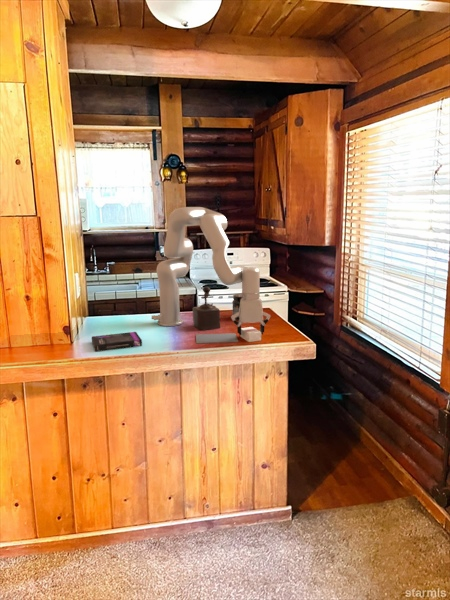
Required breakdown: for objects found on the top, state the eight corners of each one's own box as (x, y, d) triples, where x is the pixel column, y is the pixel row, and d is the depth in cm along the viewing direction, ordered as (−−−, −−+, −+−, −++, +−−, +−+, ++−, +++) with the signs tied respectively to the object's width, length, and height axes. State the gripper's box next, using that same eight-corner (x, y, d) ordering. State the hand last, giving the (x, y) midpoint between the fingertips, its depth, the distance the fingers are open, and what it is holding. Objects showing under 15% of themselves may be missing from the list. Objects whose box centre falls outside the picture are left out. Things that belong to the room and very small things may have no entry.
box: (136, 338, 200) (91, 343, 193) (136, 331, 199) (91, 335, 192) (142, 347, 187) (94, 352, 180) (142, 339, 186) (93, 344, 179)
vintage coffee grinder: (221, 328, 212) (221, 291, 208) (200, 331, 208) (199, 293, 204) (209, 320, 226) (209, 285, 222) (189, 322, 221) (188, 287, 217)
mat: (196, 343, 189) (196, 342, 189) (195, 335, 201) (195, 334, 201) (238, 342, 191) (238, 341, 191) (235, 334, 202) (235, 333, 202)
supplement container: (243, 314, 237) (243, 292, 235) (256, 318, 229) (257, 295, 227) (228, 317, 231) (228, 295, 228) (241, 321, 223) (241, 298, 220)
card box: (248, 342, 191) (248, 333, 190) (240, 336, 199) (240, 328, 198) (261, 340, 193) (261, 331, 192) (252, 335, 201) (252, 326, 200)
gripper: (231, 298, 187) (232, 337, 191) (272, 297, 189) (271, 335, 193) (230, 295, 195) (230, 332, 198) (268, 293, 196) (268, 331, 200)
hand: (250, 334), depth 196 cm, fingers open, 9 cm apart
